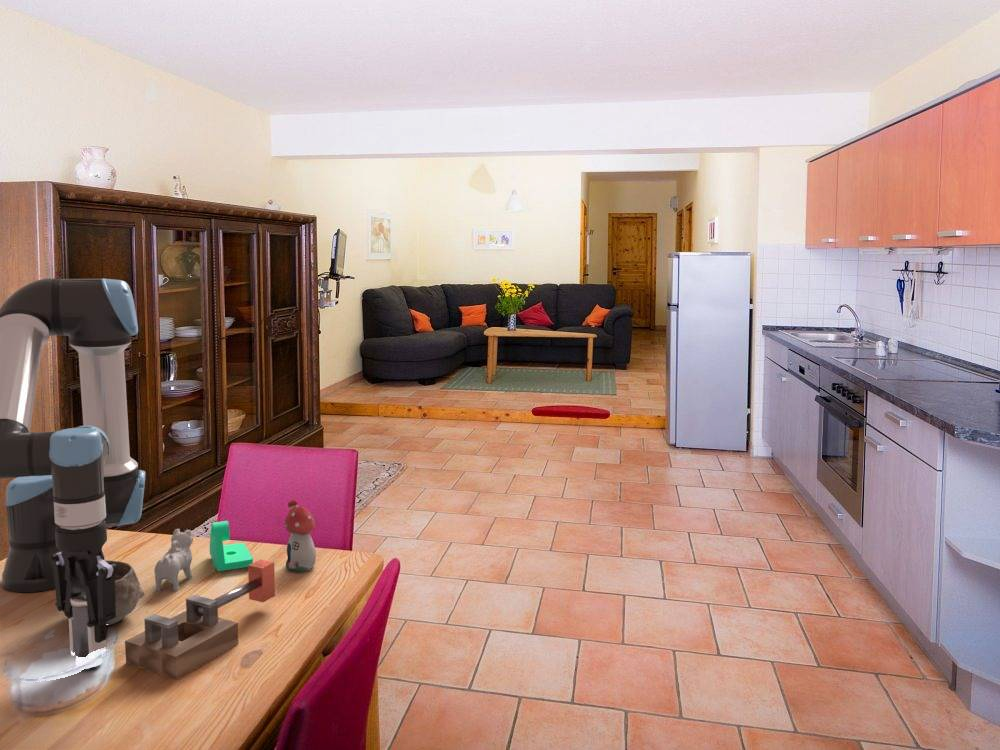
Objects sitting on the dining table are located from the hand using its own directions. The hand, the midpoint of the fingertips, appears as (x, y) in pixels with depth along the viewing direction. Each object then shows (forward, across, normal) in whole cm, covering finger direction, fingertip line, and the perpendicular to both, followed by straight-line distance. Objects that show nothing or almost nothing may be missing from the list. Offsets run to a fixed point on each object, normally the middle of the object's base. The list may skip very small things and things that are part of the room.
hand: (88, 654), depth 133 cm
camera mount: (+3, -13, +46) cm, 48 cm away
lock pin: (0, +10, +24) cm, 26 cm away
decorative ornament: (+3, +2, +52) cm, 52 cm away
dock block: (+2, +10, +11) cm, 15 cm away
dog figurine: (+3, -16, +33) cm, 37 cm away
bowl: (+3, -14, +13) cm, 19 cm away
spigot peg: (+2, 0, 0) cm, 2 cm away
